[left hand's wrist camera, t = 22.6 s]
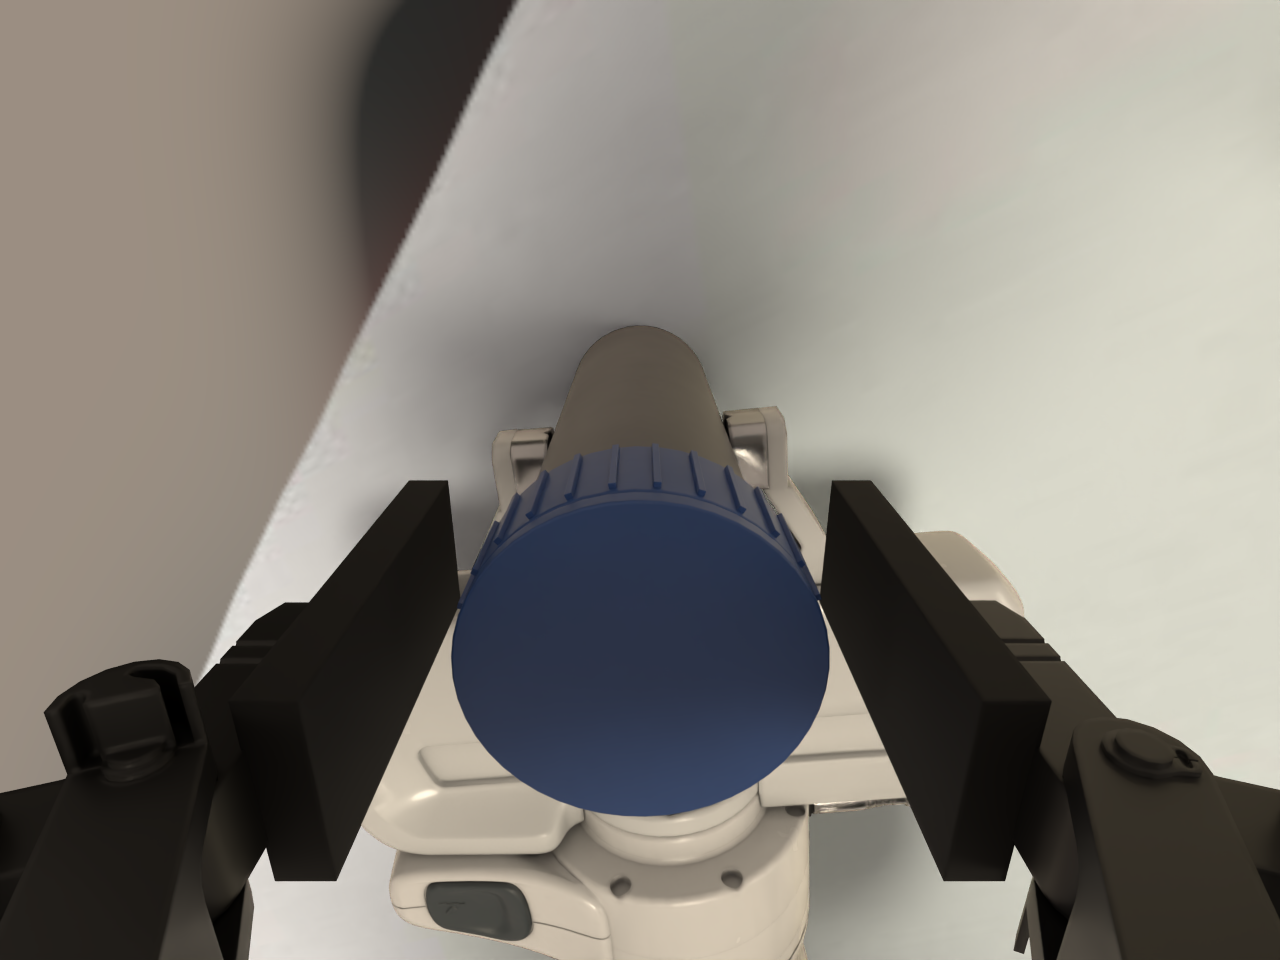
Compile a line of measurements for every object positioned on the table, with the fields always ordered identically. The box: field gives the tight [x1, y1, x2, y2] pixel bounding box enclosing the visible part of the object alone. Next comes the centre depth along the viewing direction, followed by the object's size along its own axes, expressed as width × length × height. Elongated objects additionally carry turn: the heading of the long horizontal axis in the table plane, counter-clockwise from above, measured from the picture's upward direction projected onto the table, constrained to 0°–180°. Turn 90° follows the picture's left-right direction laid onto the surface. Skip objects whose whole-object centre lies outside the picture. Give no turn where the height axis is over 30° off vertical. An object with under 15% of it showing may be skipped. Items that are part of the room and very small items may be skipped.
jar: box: [537, 326, 744, 480], centre depth 18 cm, size 5×5×15 cm
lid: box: [451, 443, 830, 817], centre depth 11 cm, size 6×6×2 cm
